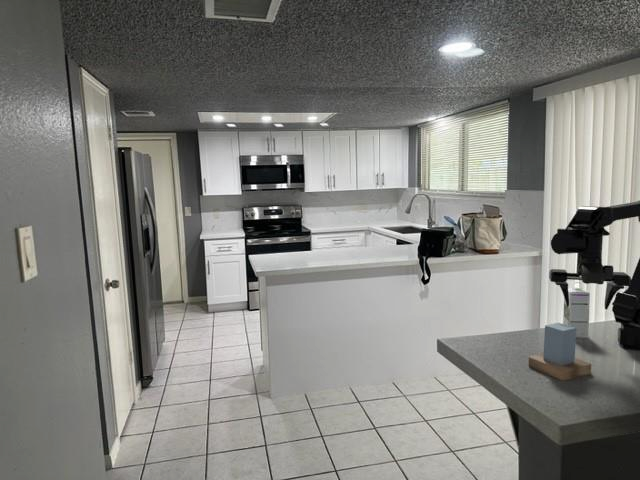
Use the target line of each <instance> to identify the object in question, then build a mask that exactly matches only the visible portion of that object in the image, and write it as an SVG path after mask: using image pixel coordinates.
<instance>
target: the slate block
mask: <svg viewBox="0 0 640 480" xmlns="http://www.w3.org/2000/svg"><path fill="white" fill-rule="evenodd" d="M543 339H544V340H543V354H544V357H543V359H544V360H547V361H549V362H552V363H555V364H557V365H560V366H563V365H567V364H571V363H574V361H575V358H576V356H575V355H576V341H577V340H576V339H577V337H576V328H575V327H571V326H568V325H564V324H563V323H560V322H556V323H555V322H554V323H550V324H545V325H544V337H543Z"/></svg>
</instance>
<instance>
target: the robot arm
mask: <svg viewBox="0 0 640 480" xmlns="http://www.w3.org/2000/svg"><path fill="white" fill-rule="evenodd" d="M631 218H638V222H639V223H640V200H637V201H634V202H633V201H632V202H626V203H621V204H615V205H609V206H592V205H591V206H587V205H583V206H579V207H578V208H577V210H576V212H575V214H574V215H573V216H572V218H571V220H569V221H570V222H569V223H568V224H567V226H566V227H565V228H557V231H556V233H555V234H553V236H552V238H551V240H550V246H551V250H552V251H553V252H554V253H555V254H557V255H566V254H567V255H568V254H569V255H570V254H576V257H577V258H576V272H567V271H566V269H562V268H561V269H559V268H558V269H557V268H551V269H550V270H549V273H548V274H549V275H548V279H549V280H550V282H551V283H554V284H555V285H556V286H559V287H560V289H561V292H562V294H563V295H562V296H563V300H564V299H565V302H566V305H567V307H569V294H568V288H569V284H568V282H567V281H568V280H570V281H572V280H573V281H582V283H583V284H587V285H589V284H597V285H603V284H604V283H605V282H606V290H605V297H604V310H608V309H609V306H610V304H611V305H612V309H611V311H612V312H613V317H614V320H615V323H619V324H620V327H618V329H617V342H618V343H619V345H620V346H621V347H622V348H623V349H629V350H638V351H640V257H639V259H638V261H637V263H636V266H635V269H634V271H633V274H632V276H630V275H629V274H627V273H626V272H622V271H614V266H613V265H608V264H607V265H603V263H602V262H603V260H602V257H603V254H602V253H603V239H604V237H605V236H610V231H608V230H607V229H606V228H605V227H608V226H610V225H612V224H613V223H614V222H616V221H621V220H626V219H631ZM625 287H627V289H625ZM624 289H625V290H624ZM620 290H624V291H623V292H620ZM613 298H614V300H613ZM612 300H613V302H612ZM611 302H612V303H611Z"/></svg>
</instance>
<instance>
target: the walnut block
mask: <svg viewBox="0 0 640 480" xmlns="http://www.w3.org/2000/svg"><path fill="white" fill-rule="evenodd" d="M543 357H544V353H539V354H536V355H531V356H528V367H531V368H533V369H535V370H538V371H540V372H542V373H544V374H546V375H549V376H551V377H553V378H555V379H557V380H560V381H566V380H567V381H568V380H571V379H574V377H575V378H578V376H579V377H582V376H586V375H591V374H592V363H590V362H587V361H584V360H582V359H579V358H577V357H575V361H574V363H571V364H567V365H563V366H560V365H557V364H555V363H552V362H549V361H547V360H544V359H543Z"/></svg>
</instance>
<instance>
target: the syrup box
mask: <svg viewBox="0 0 640 480" xmlns="http://www.w3.org/2000/svg"><path fill="white" fill-rule="evenodd" d="M568 294H569V307H567V305H566V302H565V299H564V298H563V321H562V324H564V325H568V326H571V327H575V328H576V339H577V338H579V339H580V338H581V339H582V338H583V339H588V338H589V327H590V301H591V299H590V297H591V295H590V291H588V290H586V289H584V288H582V287H581V288H580V287H568Z"/></svg>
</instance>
